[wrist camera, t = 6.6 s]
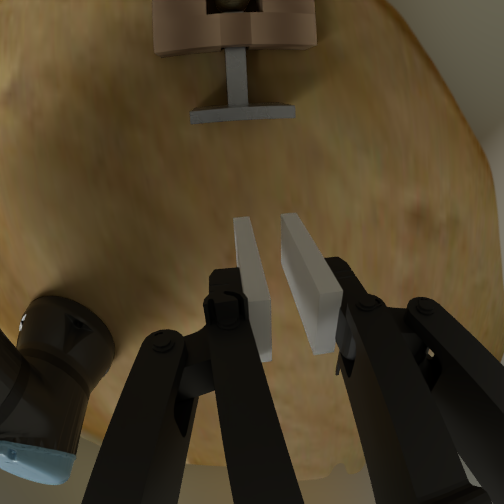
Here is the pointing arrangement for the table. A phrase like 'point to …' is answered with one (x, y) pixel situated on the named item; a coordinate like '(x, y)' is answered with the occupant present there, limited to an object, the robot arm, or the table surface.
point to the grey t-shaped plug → (239, 96)
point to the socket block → (232, 27)
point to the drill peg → (231, 5)
